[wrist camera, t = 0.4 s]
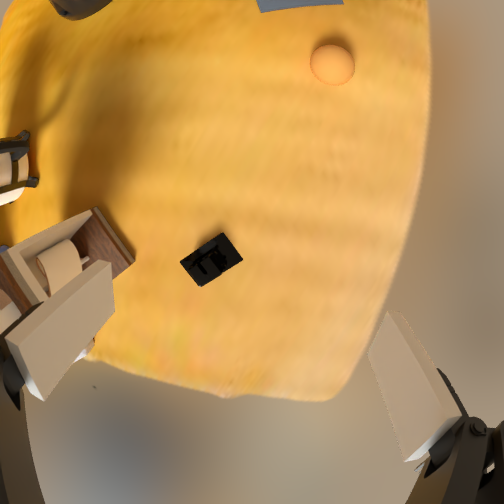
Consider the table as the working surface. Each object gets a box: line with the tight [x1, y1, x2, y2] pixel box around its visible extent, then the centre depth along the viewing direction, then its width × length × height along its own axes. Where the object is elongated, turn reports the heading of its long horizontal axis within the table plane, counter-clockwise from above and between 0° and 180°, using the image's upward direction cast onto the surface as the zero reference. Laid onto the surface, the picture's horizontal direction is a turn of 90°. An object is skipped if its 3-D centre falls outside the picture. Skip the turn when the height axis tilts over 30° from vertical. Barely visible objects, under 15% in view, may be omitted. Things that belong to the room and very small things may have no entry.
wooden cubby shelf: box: [0, 207, 135, 334], centre depth 24 cm, size 11×11×35 cm
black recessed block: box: [180, 232, 243, 287], centre depth 38 cm, size 12×7×5 cm, turn 124°
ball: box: [310, 45, 355, 85], centre depth 26 cm, size 6×6×6 cm
